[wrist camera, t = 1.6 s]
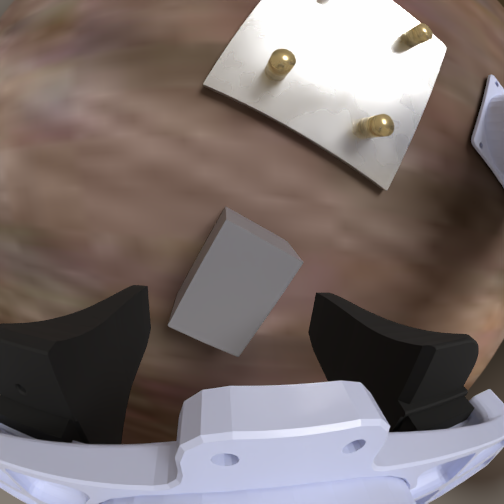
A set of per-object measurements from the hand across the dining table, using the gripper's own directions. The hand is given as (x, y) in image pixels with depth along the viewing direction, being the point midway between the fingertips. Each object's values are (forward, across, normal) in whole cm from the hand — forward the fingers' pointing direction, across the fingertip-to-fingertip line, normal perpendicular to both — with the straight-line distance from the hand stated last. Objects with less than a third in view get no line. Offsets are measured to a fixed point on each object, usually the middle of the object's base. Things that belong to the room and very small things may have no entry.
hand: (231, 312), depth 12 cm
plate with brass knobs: (+5, -6, -14) cm, 16 cm away
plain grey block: (+6, 0, 0) cm, 6 cm away
